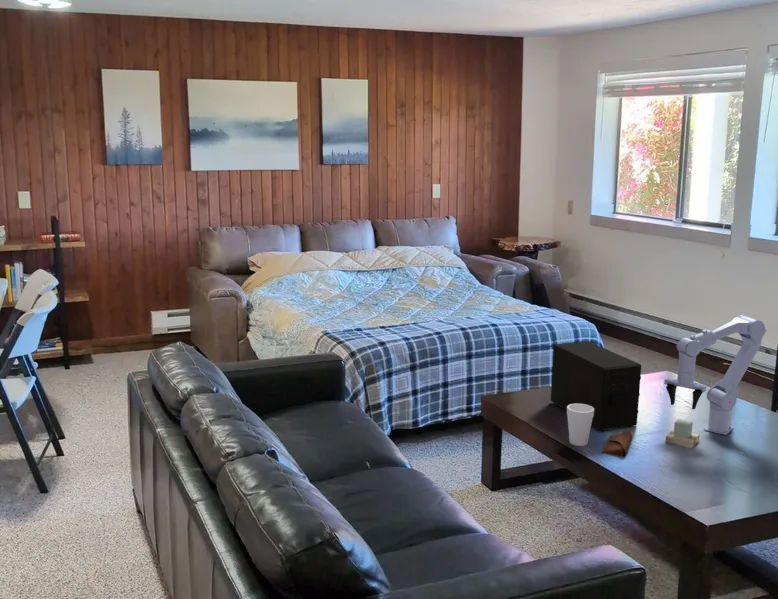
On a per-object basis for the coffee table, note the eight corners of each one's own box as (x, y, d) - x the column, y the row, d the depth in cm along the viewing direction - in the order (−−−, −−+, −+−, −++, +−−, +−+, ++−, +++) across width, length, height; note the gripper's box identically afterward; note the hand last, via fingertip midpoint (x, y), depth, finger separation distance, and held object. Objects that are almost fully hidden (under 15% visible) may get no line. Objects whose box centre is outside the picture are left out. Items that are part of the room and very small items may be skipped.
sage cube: (677, 431, 288) (678, 418, 287) (691, 434, 285) (692, 421, 284) (673, 435, 284) (674, 422, 283) (687, 439, 281) (688, 425, 280)
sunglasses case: (608, 435, 291) (618, 421, 288) (624, 447, 289) (635, 433, 286) (600, 453, 274) (611, 439, 272) (618, 466, 273) (629, 452, 270)
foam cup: (595, 440, 286) (597, 406, 283) (587, 449, 278) (589, 414, 275) (569, 435, 290) (571, 401, 288) (561, 444, 282) (563, 409, 280)
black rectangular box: (646, 429, 297) (651, 365, 292) (602, 435, 291) (606, 370, 286) (590, 397, 332) (593, 340, 326) (549, 402, 325) (552, 344, 320)
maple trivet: (673, 436, 292) (674, 428, 291) (698, 442, 286) (699, 434, 286) (665, 443, 285) (666, 435, 284) (690, 449, 279) (691, 441, 279)
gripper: (662, 369, 290) (659, 405, 292) (703, 377, 281) (700, 413, 284) (669, 365, 295) (666, 400, 298) (709, 372, 286) (706, 408, 289)
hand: (683, 406), depth 291 cm, fingers open, 7 cm apart
